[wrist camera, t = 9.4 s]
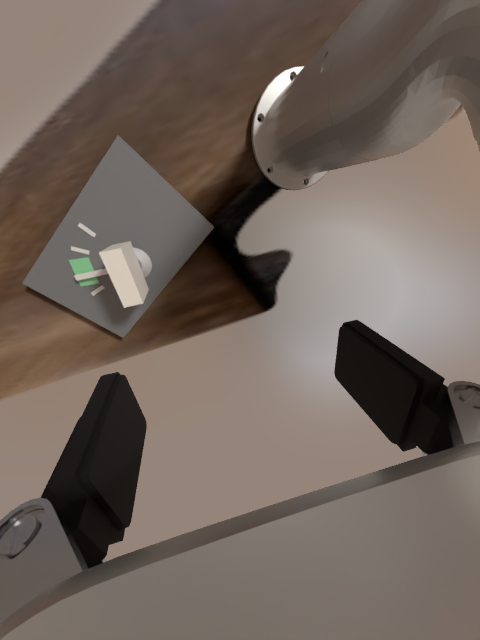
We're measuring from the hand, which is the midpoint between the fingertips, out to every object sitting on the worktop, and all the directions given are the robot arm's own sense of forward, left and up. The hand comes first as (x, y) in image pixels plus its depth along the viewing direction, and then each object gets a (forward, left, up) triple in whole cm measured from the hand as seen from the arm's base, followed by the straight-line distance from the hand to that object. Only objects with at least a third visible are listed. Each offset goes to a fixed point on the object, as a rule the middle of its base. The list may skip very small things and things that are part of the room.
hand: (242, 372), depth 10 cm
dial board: (+7, -8, -28) cm, 30 cm away
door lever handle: (+10, -8, -26) cm, 29 cm away
